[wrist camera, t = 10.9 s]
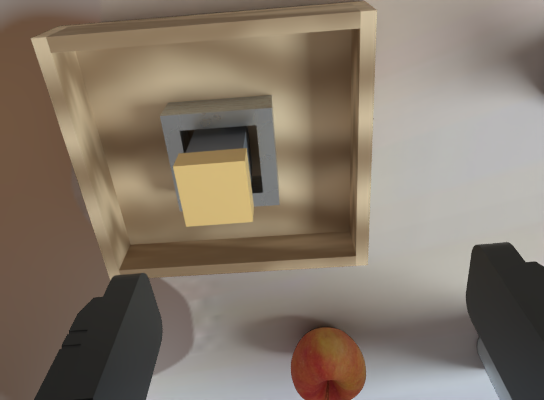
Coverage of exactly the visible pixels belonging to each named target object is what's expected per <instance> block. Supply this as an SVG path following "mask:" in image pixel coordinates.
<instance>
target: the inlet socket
mask: <svg viewBox="0 0 544 400" xmlns="http://www.w3.org/2000/svg"><path fill="white" fill-rule="evenodd" d="M160 119H161V124H162V129H163V134H164V138H165V143H166V148H167V153H168V157H169V162H170V167H171V172H172V177H173V181H174V186H175V191H176V196H177V200H178V205H179V210H180V211H183V210H182V206H181V201H180V196H179V192H178V187H177V183H176V178H175V174H174V169H173V165H174V163H175V161H176V158H177V156H178V154H179V153H186V150H187V148H188V145H189V143H190V134H189V130H196V129H210V128H224V127H238V126H251V125H257V135H258V146H259V156H260V166H261V175H260V176H252V179H251V187H252V195H253V203H254V207H256V206H272V205H280V201H279V178H278V166H277V153H276V140H275V128H274V115H273V102H272V95H264V96H250V97H237V98H223V99H210V100H197V101H183V102H170V103H168V104H167V105H166V107H165V109H164V110H163V112H162V113H161V115H160Z"/></svg>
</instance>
